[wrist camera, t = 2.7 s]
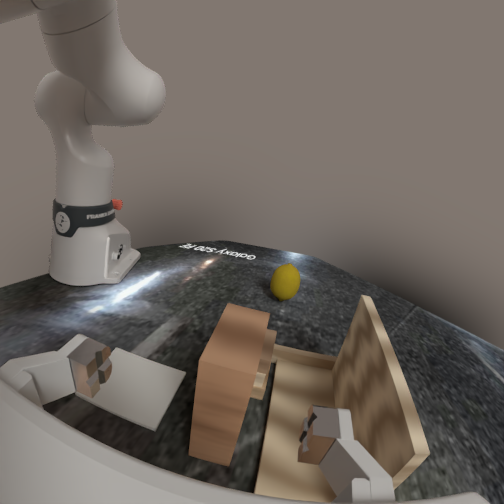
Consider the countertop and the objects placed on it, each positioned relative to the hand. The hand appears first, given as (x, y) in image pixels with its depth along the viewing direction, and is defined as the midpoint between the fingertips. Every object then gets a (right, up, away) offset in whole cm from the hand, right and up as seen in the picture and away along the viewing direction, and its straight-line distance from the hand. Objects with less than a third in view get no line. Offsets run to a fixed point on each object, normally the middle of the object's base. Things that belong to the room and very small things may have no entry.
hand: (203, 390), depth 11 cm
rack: (+4, -14, +19) cm, 24 cm away
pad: (-12, -10, +20) cm, 26 cm away
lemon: (+7, -5, +49) cm, 50 cm away
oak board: (-2, -13, +17) cm, 22 cm away
